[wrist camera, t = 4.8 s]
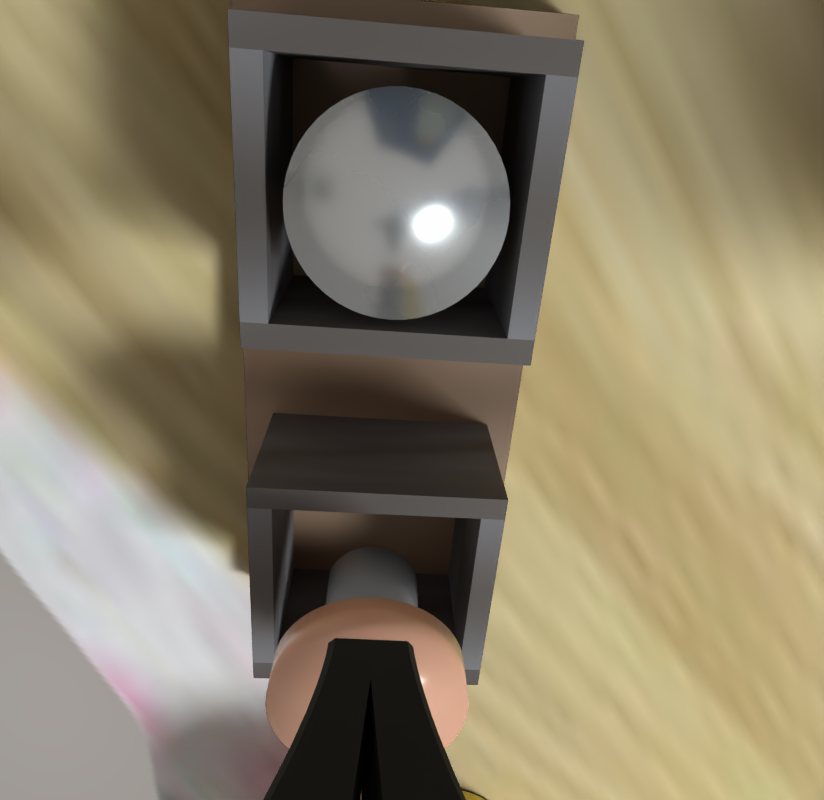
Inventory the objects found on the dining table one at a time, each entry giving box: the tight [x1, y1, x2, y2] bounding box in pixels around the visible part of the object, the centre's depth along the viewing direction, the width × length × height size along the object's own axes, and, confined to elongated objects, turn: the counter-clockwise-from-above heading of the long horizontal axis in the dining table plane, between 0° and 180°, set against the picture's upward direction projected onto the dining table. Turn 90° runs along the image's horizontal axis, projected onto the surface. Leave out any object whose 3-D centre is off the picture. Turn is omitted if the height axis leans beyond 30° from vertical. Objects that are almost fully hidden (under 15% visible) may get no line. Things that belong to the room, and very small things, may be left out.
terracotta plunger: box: [265, 547, 469, 749], centre depth 16 cm, size 4×4×4 cm
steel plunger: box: [283, 86, 510, 320], centre depth 15 cm, size 4×4×4 cm
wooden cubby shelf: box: [227, 0, 584, 685], centre depth 18 cm, size 18×8×5 cm, turn 176°
